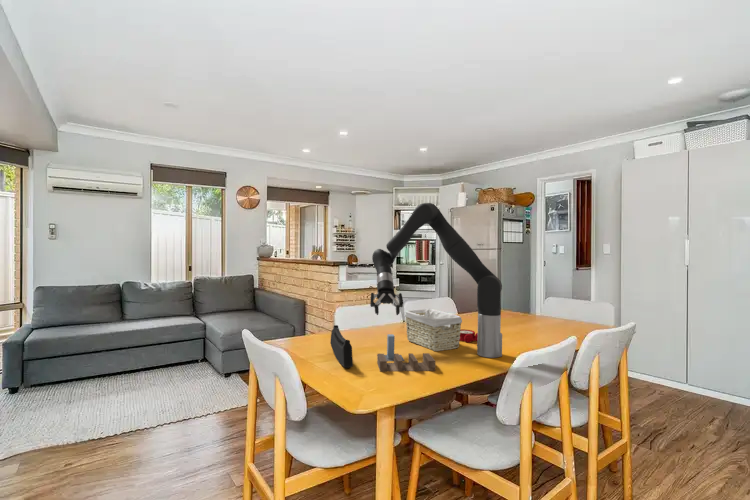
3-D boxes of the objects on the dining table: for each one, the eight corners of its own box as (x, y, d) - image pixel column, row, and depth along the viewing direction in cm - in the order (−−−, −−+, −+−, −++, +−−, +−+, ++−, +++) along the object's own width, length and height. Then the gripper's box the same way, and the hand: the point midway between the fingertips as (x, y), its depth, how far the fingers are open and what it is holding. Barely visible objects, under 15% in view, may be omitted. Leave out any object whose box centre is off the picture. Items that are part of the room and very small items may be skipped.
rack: (428, 363, 151) (429, 353, 151) (435, 371, 141) (435, 360, 141) (377, 363, 149) (377, 353, 149) (380, 372, 140) (380, 361, 140)
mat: (401, 355, 162) (401, 354, 162) (404, 361, 153) (404, 360, 153) (376, 355, 161) (376, 354, 161) (379, 361, 152) (379, 361, 152)
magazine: (354, 347, 139) (340, 309, 166) (345, 347, 138) (332, 310, 166) (350, 388, 144) (337, 345, 171) (342, 389, 143) (329, 345, 170)
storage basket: (463, 349, 175) (463, 315, 174) (434, 353, 167) (434, 318, 167) (430, 337, 195) (431, 308, 195) (403, 341, 188) (403, 310, 188)
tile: (392, 356, 159) (393, 334, 159) (394, 359, 155) (394, 336, 155) (386, 356, 159) (387, 334, 159) (388, 359, 155) (388, 336, 155)
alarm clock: (464, 328, 201) (485, 327, 188) (466, 341, 200) (487, 341, 187) (448, 330, 196) (469, 329, 183) (450, 343, 195) (470, 343, 182)
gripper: (370, 278, 176) (371, 308, 164) (401, 279, 177) (405, 309, 166) (369, 289, 181) (370, 318, 170) (399, 289, 182) (402, 319, 171)
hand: (387, 313), depth 168 cm, fingers open, 8 cm apart
